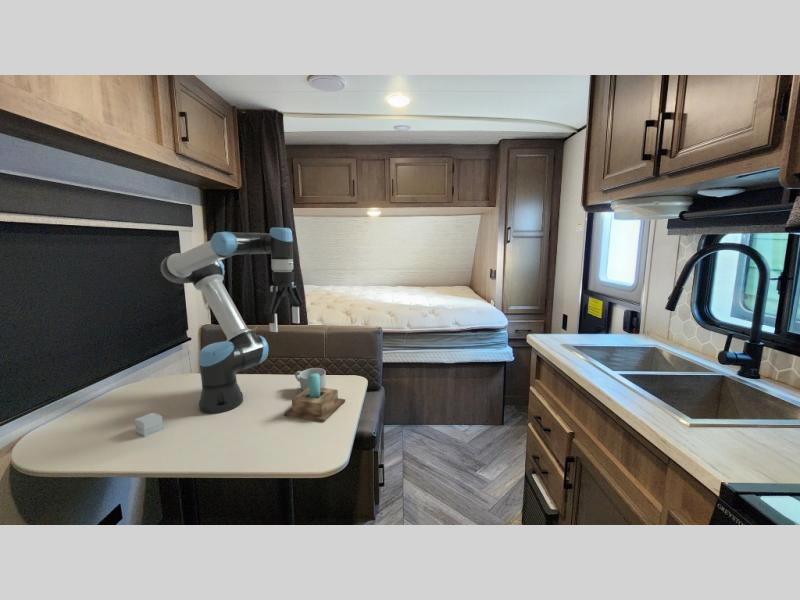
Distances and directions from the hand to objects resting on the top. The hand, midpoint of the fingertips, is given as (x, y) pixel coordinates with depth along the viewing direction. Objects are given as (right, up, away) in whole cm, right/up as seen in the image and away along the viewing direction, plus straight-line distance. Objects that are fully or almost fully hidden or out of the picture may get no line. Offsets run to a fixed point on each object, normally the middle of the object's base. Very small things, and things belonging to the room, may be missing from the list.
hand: (285, 327), depth 128 cm
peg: (+12, -29, -2) cm, 31 cm away
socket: (+12, -30, -1) cm, 32 cm away
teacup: (+6, -28, +15) cm, 32 cm away
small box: (-40, -33, -15) cm, 54 cm away
